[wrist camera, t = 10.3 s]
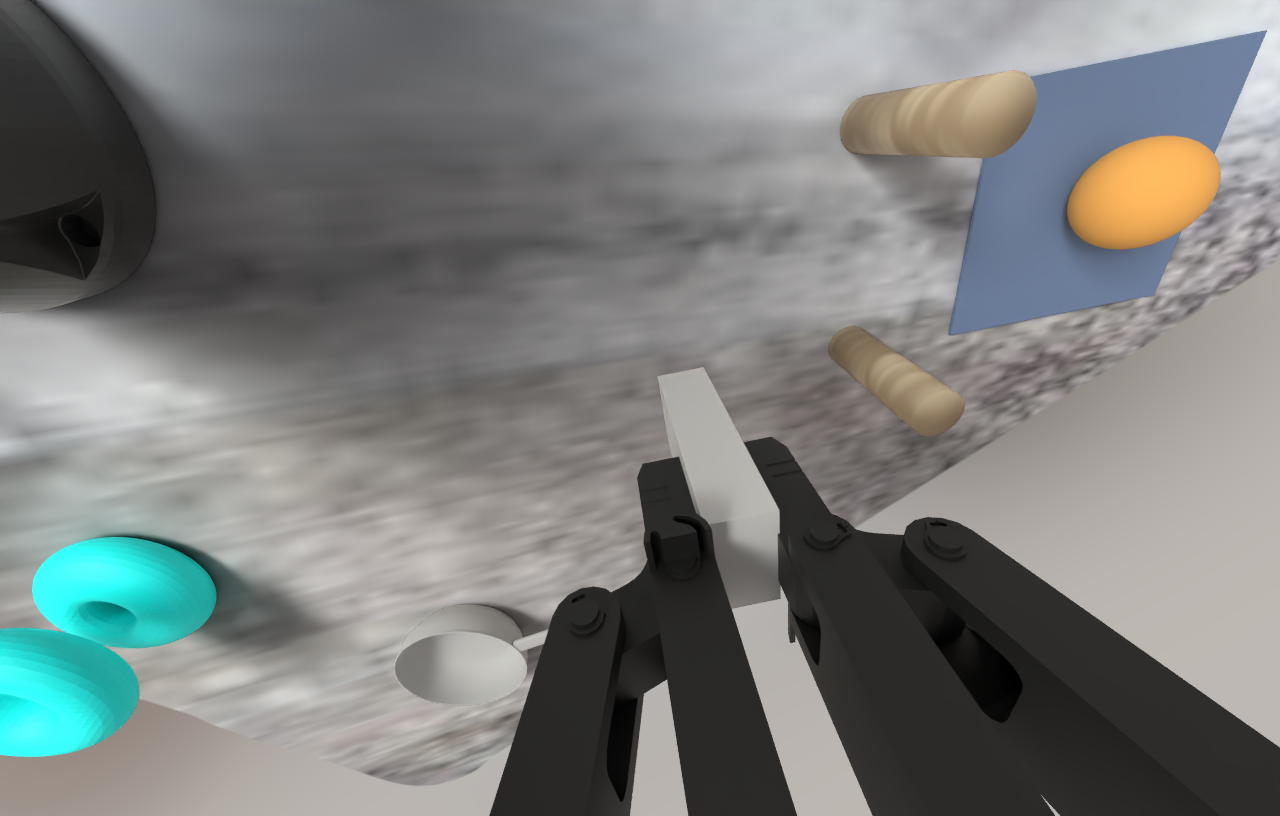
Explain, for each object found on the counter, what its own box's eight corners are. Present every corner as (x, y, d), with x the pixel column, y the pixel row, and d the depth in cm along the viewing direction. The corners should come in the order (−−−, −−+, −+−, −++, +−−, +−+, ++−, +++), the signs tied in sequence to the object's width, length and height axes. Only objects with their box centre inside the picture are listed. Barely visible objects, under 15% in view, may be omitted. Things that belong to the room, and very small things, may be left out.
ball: (1180, 122, 25) (1060, 144, 26) (1284, 126, 20) (1132, 153, 21) (1141, 227, 27) (1035, 243, 29) (1224, 252, 23) (1094, 269, 24)
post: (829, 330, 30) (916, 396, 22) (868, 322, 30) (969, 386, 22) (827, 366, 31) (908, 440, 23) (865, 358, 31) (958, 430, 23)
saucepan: (380, 622, 39) (362, 666, 36) (562, 545, 37) (560, 584, 34) (457, 680, 45) (447, 722, 41) (621, 615, 42) (624, 655, 39)
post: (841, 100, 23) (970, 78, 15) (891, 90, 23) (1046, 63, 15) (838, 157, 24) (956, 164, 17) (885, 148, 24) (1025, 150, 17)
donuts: (134, 705, 26) (84, 779, 29) (247, 565, 34) (199, 633, 38) (-112, 648, 22) (-140, 741, 25) (85, 505, 30) (46, 587, 33)
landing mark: (998, 83, 23) (1001, 82, 23) (1262, 31, 23) (1266, 30, 23) (948, 334, 31) (950, 335, 30) (1151, 293, 31) (1154, 294, 30)
